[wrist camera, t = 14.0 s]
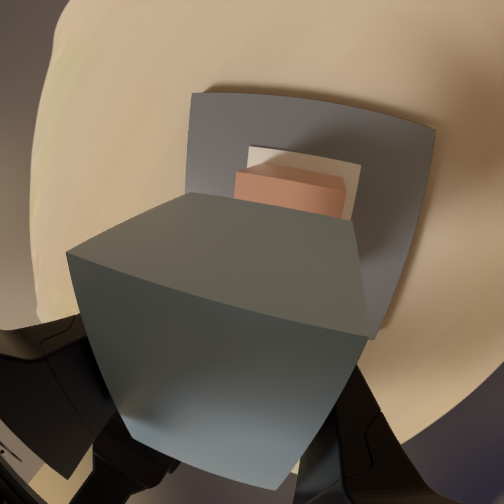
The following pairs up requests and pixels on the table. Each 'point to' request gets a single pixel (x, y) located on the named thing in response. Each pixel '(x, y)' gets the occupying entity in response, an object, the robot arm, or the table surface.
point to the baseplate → (322, 168)
